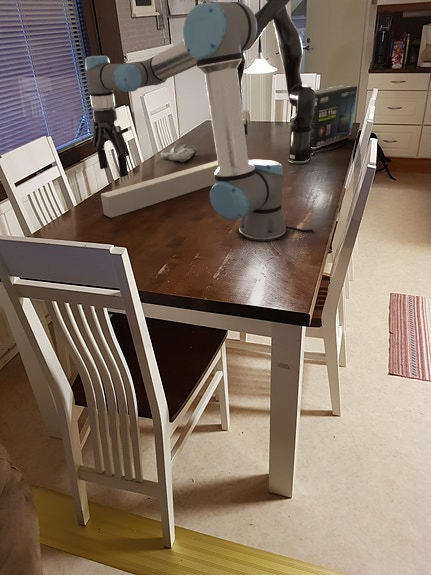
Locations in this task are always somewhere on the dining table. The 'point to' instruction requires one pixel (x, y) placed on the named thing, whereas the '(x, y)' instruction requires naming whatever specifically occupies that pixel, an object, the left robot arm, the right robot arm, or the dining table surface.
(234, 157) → the left robot arm
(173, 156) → the fossil
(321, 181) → the dining table surface
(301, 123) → the right robot arm
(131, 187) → the beam
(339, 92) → the router box
